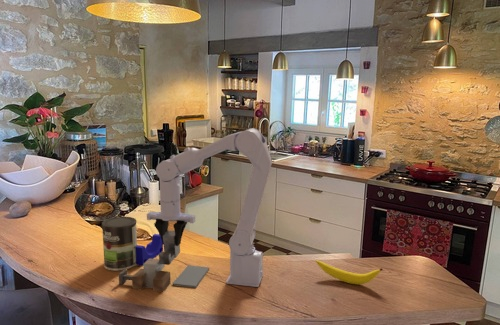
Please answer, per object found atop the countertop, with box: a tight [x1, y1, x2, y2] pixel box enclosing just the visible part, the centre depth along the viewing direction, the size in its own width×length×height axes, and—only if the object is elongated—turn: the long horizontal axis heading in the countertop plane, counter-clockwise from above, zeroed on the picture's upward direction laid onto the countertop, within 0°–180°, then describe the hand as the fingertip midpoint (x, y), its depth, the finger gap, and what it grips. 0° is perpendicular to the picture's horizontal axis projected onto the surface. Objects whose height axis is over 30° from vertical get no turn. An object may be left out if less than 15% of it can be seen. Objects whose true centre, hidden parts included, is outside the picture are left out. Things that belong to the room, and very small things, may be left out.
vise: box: [118, 268, 171, 293], centre depth 103 cm, size 14×5×4 cm, turn 78°
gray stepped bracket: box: [158, 229, 181, 266], centre depth 107 cm, size 4×8×7 cm, turn 168°
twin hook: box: [142, 258, 166, 289], centre depth 108 cm, size 7×13×7 cm, turn 168°
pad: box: [172, 264, 210, 289], centre depth 108 cm, size 7×12×1 cm, turn 168°
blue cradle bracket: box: [135, 233, 164, 267], centre depth 121 cm, size 12×4×6 cm, turn 162°
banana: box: [315, 259, 383, 285], centre depth 106 cm, size 3×19×6 cm, turn 64°
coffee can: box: [101, 216, 138, 272], centre depth 115 cm, size 10×10×14 cm
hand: (171, 244), depth 109 cm, fingers closed on gray stepped bracket, 3 cm apart
